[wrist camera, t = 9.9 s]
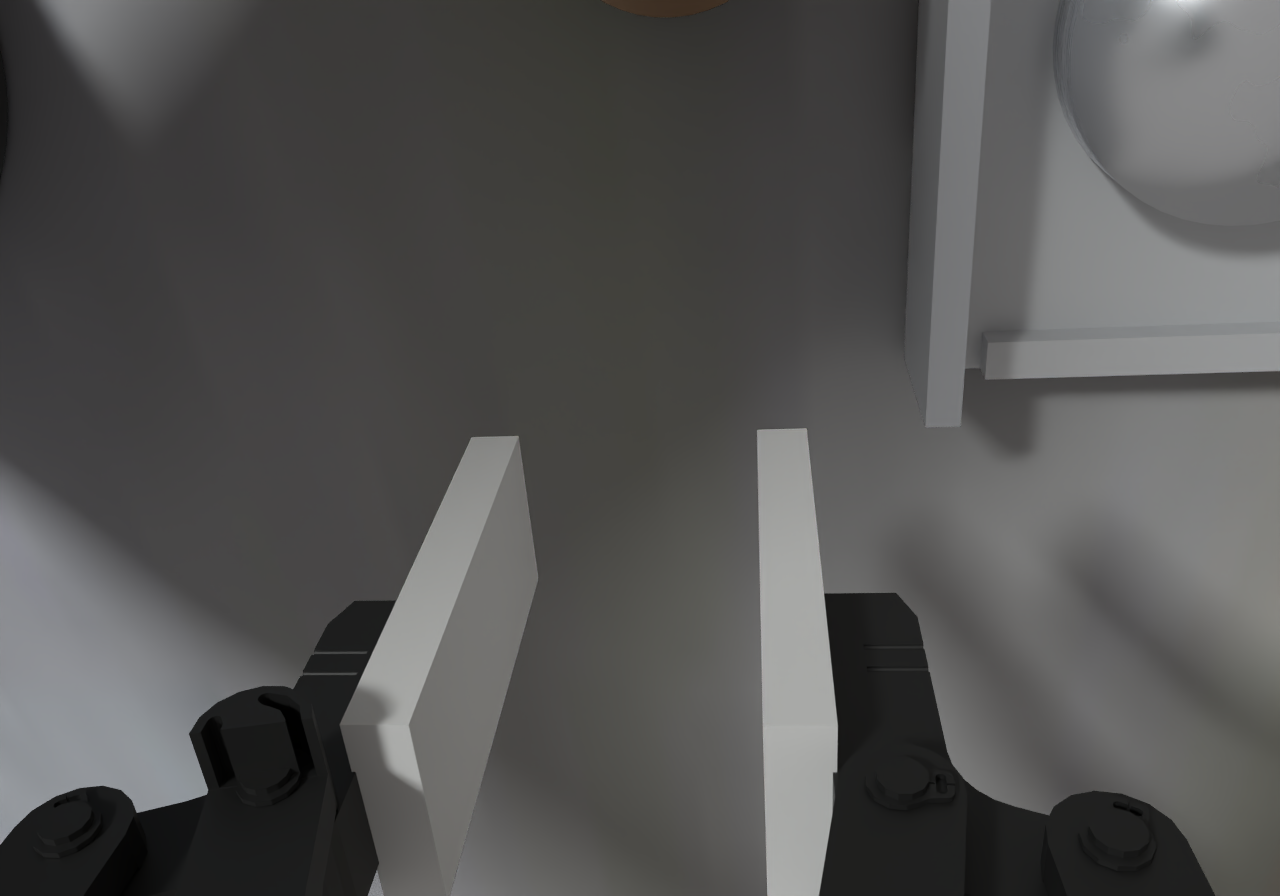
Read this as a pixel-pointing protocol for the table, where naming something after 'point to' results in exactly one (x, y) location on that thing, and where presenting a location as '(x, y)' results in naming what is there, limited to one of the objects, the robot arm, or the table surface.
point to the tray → (1053, 234)
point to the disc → (1177, 101)
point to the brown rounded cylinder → (665, 6)
